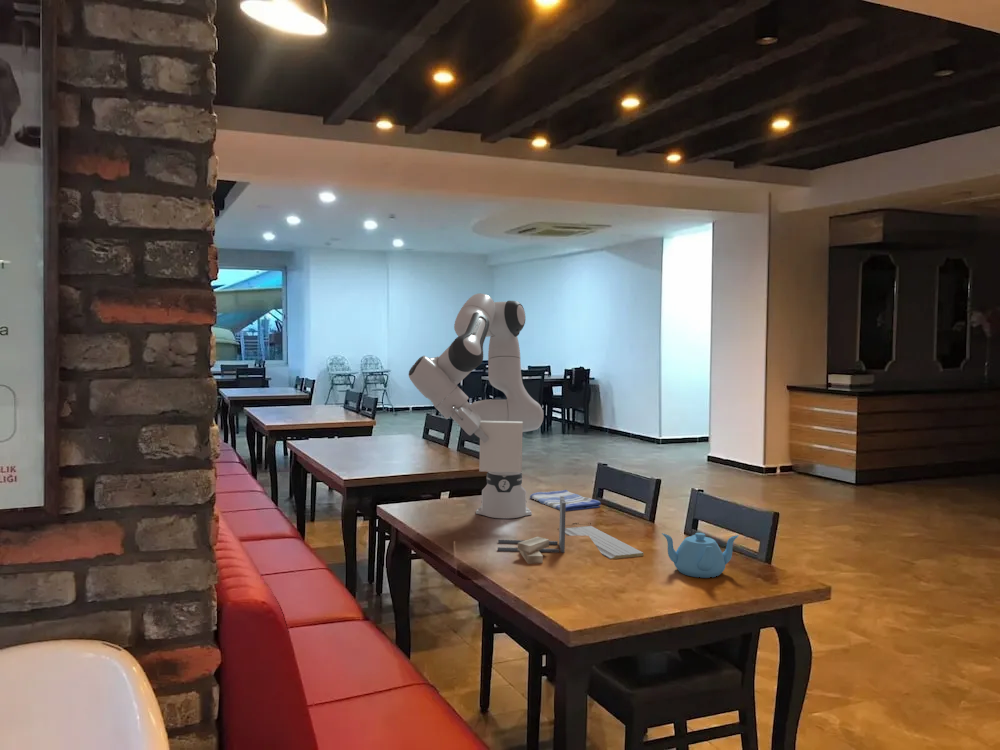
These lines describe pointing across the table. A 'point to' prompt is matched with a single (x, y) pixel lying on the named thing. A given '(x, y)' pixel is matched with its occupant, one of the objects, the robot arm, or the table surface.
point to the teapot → (700, 555)
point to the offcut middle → (532, 557)
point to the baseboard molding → (605, 542)
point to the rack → (561, 541)
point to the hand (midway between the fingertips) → (487, 439)
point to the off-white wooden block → (501, 446)
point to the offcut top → (533, 544)
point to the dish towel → (570, 498)
